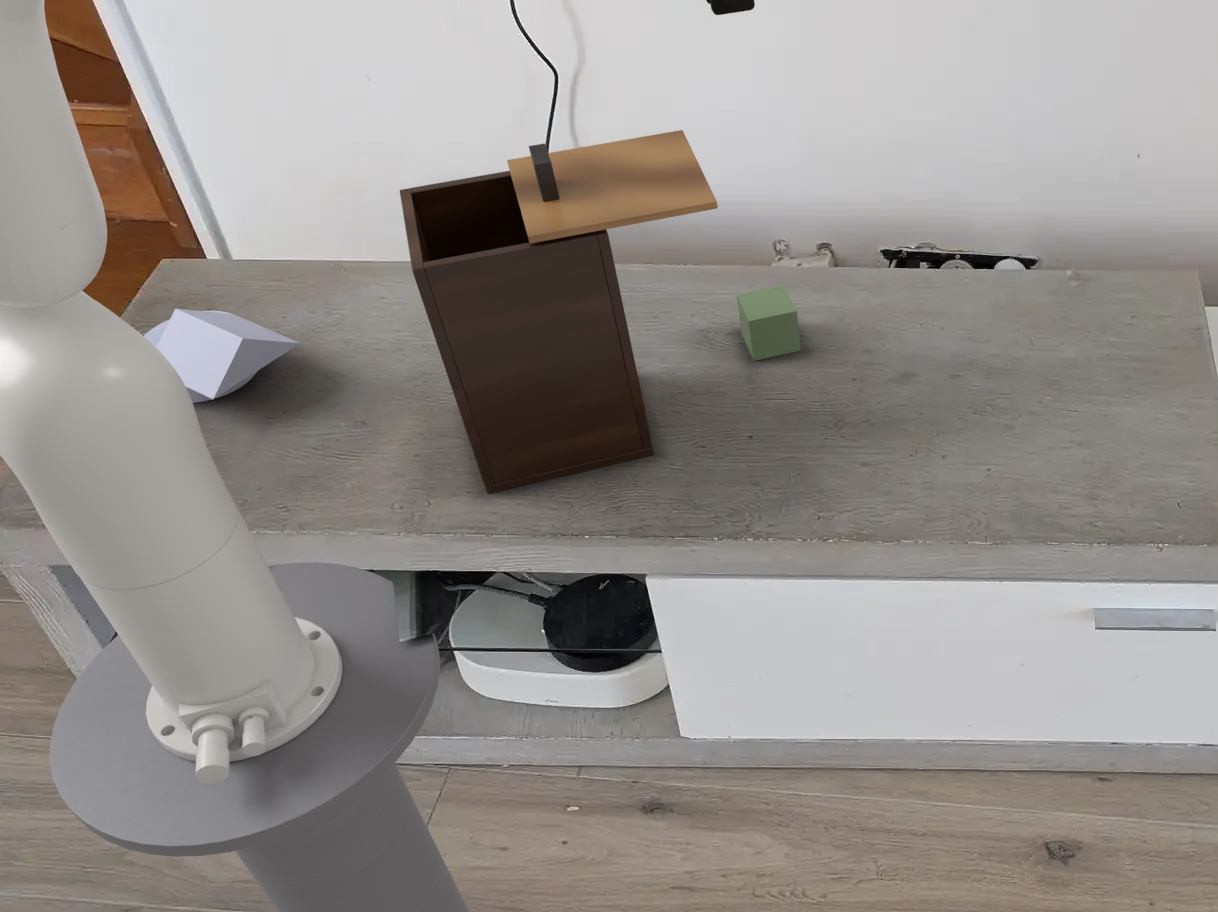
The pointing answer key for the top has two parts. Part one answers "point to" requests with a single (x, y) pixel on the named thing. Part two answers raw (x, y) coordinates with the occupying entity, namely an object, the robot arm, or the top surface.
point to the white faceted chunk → (216, 350)
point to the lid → (608, 185)
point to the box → (525, 334)
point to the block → (768, 322)
